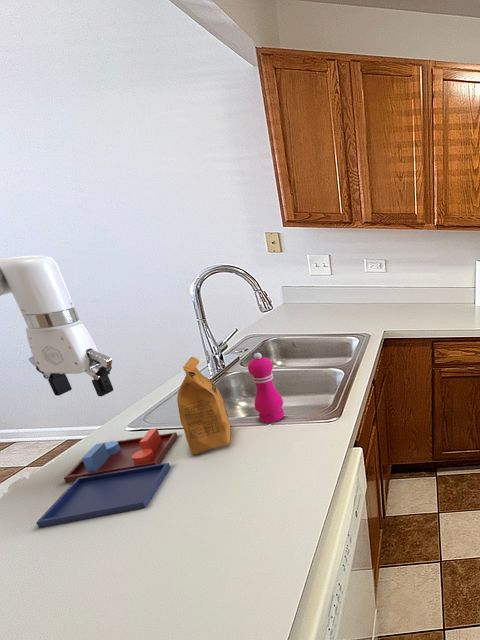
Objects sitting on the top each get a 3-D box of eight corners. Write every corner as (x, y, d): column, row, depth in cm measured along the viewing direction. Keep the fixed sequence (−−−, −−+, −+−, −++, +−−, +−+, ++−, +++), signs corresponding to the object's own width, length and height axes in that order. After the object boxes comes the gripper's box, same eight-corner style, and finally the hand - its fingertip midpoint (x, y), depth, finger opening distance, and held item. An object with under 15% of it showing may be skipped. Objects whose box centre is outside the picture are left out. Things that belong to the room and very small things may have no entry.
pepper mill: (252, 422, 112) (235, 356, 104) (270, 409, 118) (255, 347, 110) (274, 425, 110) (258, 359, 102) (291, 412, 116) (277, 349, 109)
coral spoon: (149, 443, 101) (144, 429, 100) (167, 440, 103) (162, 427, 101) (131, 466, 93) (125, 452, 91) (150, 463, 94) (145, 449, 92)
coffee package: (236, 424, 110) (215, 351, 102) (233, 447, 100) (210, 368, 92) (193, 433, 106) (168, 357, 98) (186, 458, 96) (157, 376, 88)
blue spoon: (102, 470, 91) (96, 456, 90) (82, 473, 90) (75, 459, 89) (123, 446, 100) (117, 433, 99) (105, 449, 99) (99, 435, 98)
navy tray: (38, 528, 76) (35, 522, 76) (80, 482, 88) (77, 477, 88) (145, 507, 81) (143, 502, 81) (170, 467, 93) (168, 462, 93)
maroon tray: (65, 483, 88) (63, 477, 88) (98, 448, 100) (96, 443, 100) (157, 467, 93) (155, 462, 92) (177, 436, 105) (176, 432, 104)
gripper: (-10, 323, 78) (29, 400, 84) (75, 324, 77) (107, 402, 83) (32, 313, 85) (64, 385, 91) (110, 314, 84) (137, 386, 90)
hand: (85, 393), depth 87 cm, fingers open, 9 cm apart
